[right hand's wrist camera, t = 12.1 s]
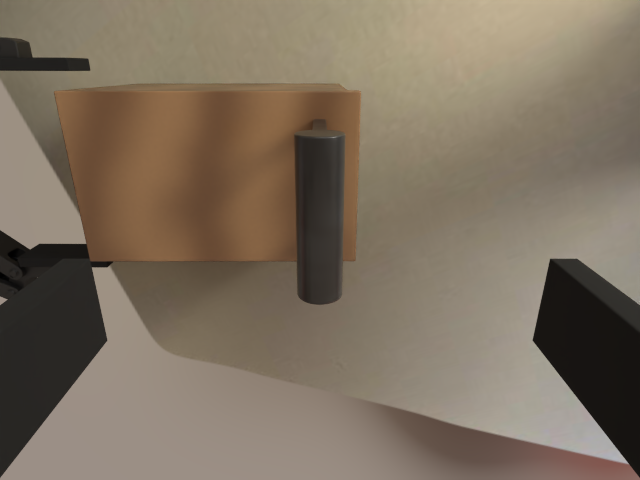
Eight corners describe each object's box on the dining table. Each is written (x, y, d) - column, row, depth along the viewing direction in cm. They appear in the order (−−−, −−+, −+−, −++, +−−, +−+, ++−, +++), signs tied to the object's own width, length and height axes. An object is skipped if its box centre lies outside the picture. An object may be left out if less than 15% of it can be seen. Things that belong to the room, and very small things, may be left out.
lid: (359, 90, 24) (379, 101, 16) (354, 255, 28) (368, 330, 20) (62, 90, 24) (-63, 101, 16) (97, 255, 28) (8, 330, 20)
